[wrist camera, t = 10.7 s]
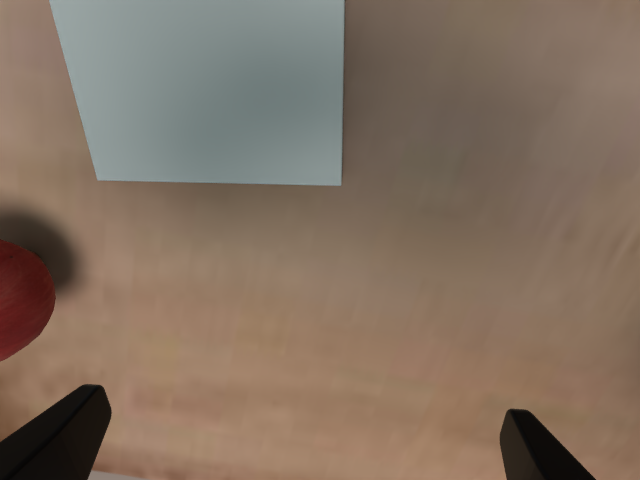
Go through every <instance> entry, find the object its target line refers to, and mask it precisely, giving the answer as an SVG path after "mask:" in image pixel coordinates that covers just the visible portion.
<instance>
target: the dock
mask: <svg viewBox="0 0 640 480" xmlns="http://www.w3.org/2000/svg"><path fill="white" fill-rule="evenodd" d="M49 2H50V6H51V9H52V13H53V17H54V21H55V24H56V28H57V32H58V35H59V39H60V43H61V47H62V50H63V54H64V58H65V61H66V65H67V69H68V73H69V76H70V80H71V84H72V87H73V91H74V95H75V98H76V102H77V106H78V110H79V113H80V117H81V121H82V124H83V128H84V132H85V136H86V139H87V143H88V147H89V150H90V154H91V158H92V161H93V165H94V169H95V173H96V176H97V180H104V181H150V182H195V183H241V184H286V185H332V186H341V182H342V144H343V86H344V27H345V0H49Z"/></svg>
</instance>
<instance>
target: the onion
mask: <svg viewBox="0 0 640 480" xmlns="http://www.w3.org/2000/svg"><path fill="white" fill-rule="evenodd" d="M55 299H56V296H55V287H54V282H53V280H52V277H51V275H50V273H49V271H48V269H47V267H46V265H45V264H44V263H43V262H42V260H41V259H40V257H39V256H38V255H37V254H36V253H34V252H32V251H29V250H26V249H24V248H22V247H20V246H18V245H15V244H13V243H10V242H7V241H4V240H1V239H0V361H3V360H5V359H7V358H8V357H10V356H12V355H13V354H15V353H16V352H18V351H19V350H21V349H22V348H24V347H25V346H27V345H28V344H29V343H31V342H32V341H33V340H34V339H35V338H36V337H38V336H39V335H40V333H41V332H42V331H43V329H44V328H45V326H46V325H47V323H48V321H49V319H50V317H51V315H52V312H53V310H54V305H55Z"/></svg>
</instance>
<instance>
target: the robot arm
mask: <svg viewBox="0 0 640 480" xmlns="http://www.w3.org/2000/svg"><path fill="white" fill-rule="evenodd" d="M111 413H112V412H111V407H110V404H109V401H108V398H107V395H106V392H105V389H104V388H103V387H102V386H101V385H92V384H85V385H82V386H80V387H79V388H77V389H76V390H74V391H73V392H71V393H70V394H69V395H67V396H66V397H64V398H63V399H61V400H60V401H58V402H57V403H56V404H54V405H53V406H51V407H50V408H48V409H47V410H46V411H44V412H43V413H41V414H40V415H38V416H37V417H35V418H34V419H33V420H31V421H30V422H28V423H27V424H25V425H24V426H23V427H21V428H20V429H18V430H17V431H15V432H14V433H12V434H11V435H10V436H8V437H7V438H5V439H4V440H2V441H1V442H0V480H87V479H88V477H89V474H90V472H91V469H92V467H93V464H94V461H95V459H96V456H97V454H98V451H99V448H100V446H101V443H102V441H103V438H104V435H105V433H106V430H107V428H108V425H109V422H110V419H111ZM500 446H501V452H502V457H503V462H504V467H505V473H506V478H507V480H596V479H595V478H594V477H593V476H592V475H591V474H590V473H589V472H588V471H587V470H586V469H585V468H584V467H583V466H582V465H581V464H580V463H579V462H578V461H577V460H576V458H575V457H574V456H573V455H572V454H571V453H570V452H569V451H568V450H567V449H566V448H565V447H564V446H563V445H562V444H561V443H560V442H559V441H558V440H557V439H556V438H555V437H554V436H553V435H552V434H551V433H550V432H549V431H548V430H547V428H546V427H545V426H544V425H543V424H542V423H541V422H540V421H539V420H538V419H537V418H536V417H535V416H534V415H533V414H532V413H531V412H529V411H528V410H524V409H509V410H508V411H507V412H506V415H505V418H504V422H503V425H502V429H501V432H500Z"/></svg>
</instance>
